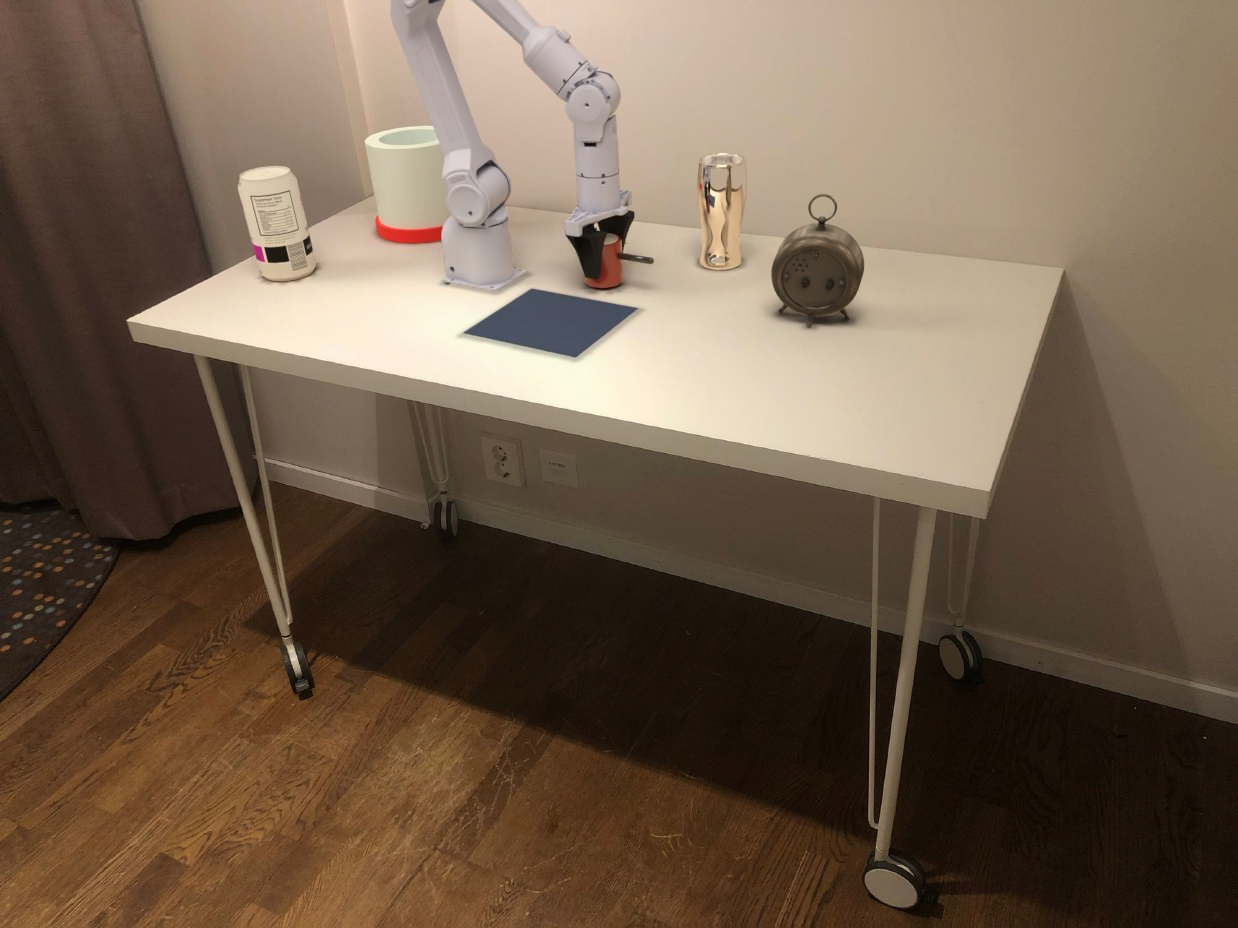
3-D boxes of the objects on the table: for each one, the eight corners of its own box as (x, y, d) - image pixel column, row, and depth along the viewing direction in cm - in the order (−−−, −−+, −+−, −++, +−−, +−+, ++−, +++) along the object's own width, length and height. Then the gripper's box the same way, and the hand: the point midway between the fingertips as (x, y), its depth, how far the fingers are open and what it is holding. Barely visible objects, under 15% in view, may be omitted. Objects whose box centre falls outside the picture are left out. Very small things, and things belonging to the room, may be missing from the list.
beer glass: (742, 272, 133) (745, 166, 125) (693, 270, 135) (693, 165, 127) (746, 255, 139) (749, 152, 131) (699, 253, 140) (700, 152, 132)
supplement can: (249, 280, 139) (222, 179, 131) (285, 260, 145) (261, 163, 137) (293, 285, 136) (268, 183, 128) (328, 265, 143) (306, 166, 134)
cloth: (462, 334, 119) (462, 332, 119) (531, 290, 131) (531, 288, 131) (575, 359, 112) (575, 357, 112) (638, 310, 124) (638, 308, 124)
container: (491, 216, 159) (481, 128, 151) (439, 247, 147) (425, 153, 139) (413, 208, 165) (399, 122, 157) (357, 237, 153) (339, 146, 145)
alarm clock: (859, 316, 119) (872, 190, 110) (853, 334, 115) (867, 204, 106) (774, 308, 122) (780, 184, 114) (766, 325, 118) (772, 198, 109)
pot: (577, 284, 130) (574, 242, 127) (597, 271, 134) (594, 230, 131) (645, 296, 126) (643, 253, 122) (663, 282, 130) (662, 240, 126)
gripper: (596, 191, 116) (601, 293, 123) (649, 161, 126) (652, 257, 134) (548, 185, 119) (556, 285, 126) (604, 156, 129) (609, 250, 137)
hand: (602, 270), depth 130 cm, fingers closed on pot, 5 cm apart
